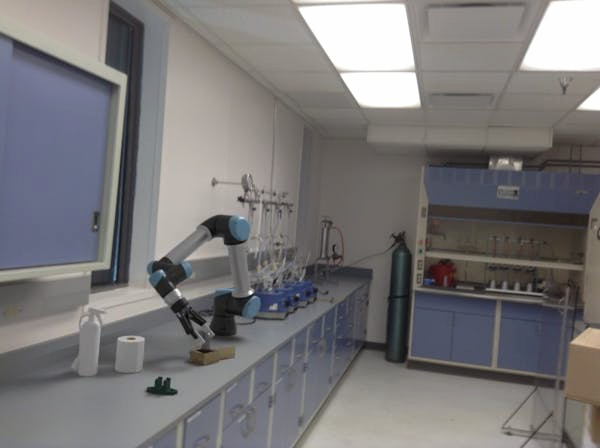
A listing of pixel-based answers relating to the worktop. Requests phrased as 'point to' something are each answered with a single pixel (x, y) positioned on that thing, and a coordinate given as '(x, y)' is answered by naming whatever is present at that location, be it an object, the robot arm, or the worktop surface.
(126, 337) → the toilet paper
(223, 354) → the tan piece
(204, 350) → the hinge pin
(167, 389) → the mount
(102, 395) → the worktop surface
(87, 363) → the fire extinguisher
